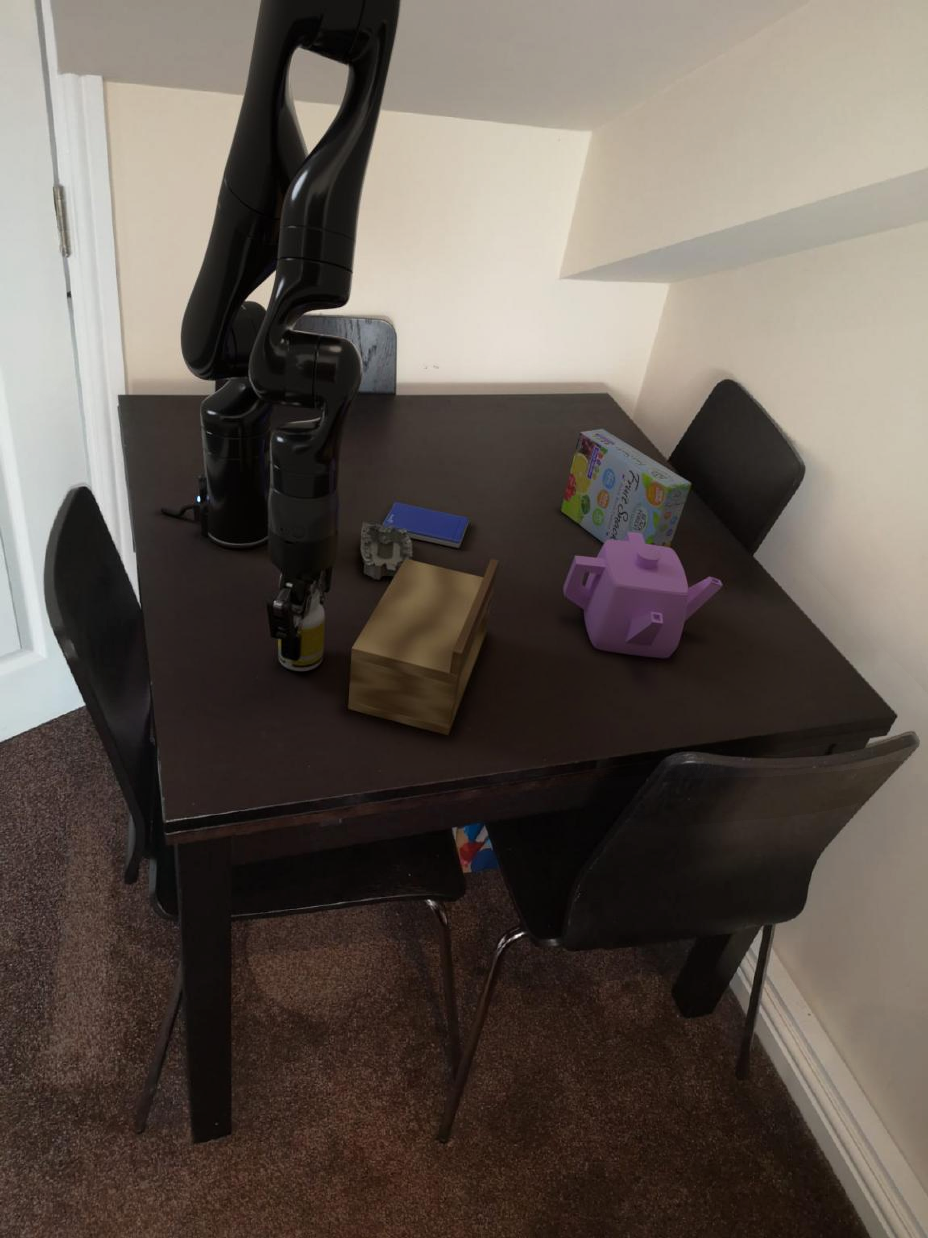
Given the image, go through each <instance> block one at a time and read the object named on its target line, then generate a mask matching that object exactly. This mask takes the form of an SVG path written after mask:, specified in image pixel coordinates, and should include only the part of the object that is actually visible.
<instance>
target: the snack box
mask: <svg viewBox="0 0 928 1238" xmlns="http://www.w3.org/2000/svg"><path fill="white" fill-rule="evenodd" d="M691 487H692V482H690V481H689V480H687V479H686V478H684V477H682V476H680V475H679V474H677V473H676V472H674V471H672V470H670V469H669V468H667V467H666V466H664V465H662V464H661V463H659V462H657V461H656V460H654V459H653V458H651V457H649V456H648V455H646V454H645V453H643V452H641V451H639V450H638V449H636V448H635V447H633V446H631V445H630V444H628V443H626V442H625V441H623V440H622V439H620V438H618V437H616V436H615V435H614V434H612V433H610V432H609V431H607V430H605V429H604V428H599V429H598V428H597V429H591V430H585V431H580V432H579V434H578V437H577V442H576V446H575V452H574V455H573V460H572V464H571V467H570V473H569V475H568V480H567V484H566V488H565V493H564V495H563V496H564V497H563V501H562V506H561V509H560V511H561V512H562V513H563V514H564V515H566V516H567V517H568V518H569V519H571V520H572V521H574V522H575V523H576V524H577V525H579V526H581V528H583V529H584V530H585V531H587V532H588V533H590V534H591V535H592V536H593V537H594V538H596V539H598V540H599V541H600V542H601V543H603V544H604V543H605V541H606V540H620V541H624V540H625V537H626V534H627V531H628V532H635V533H641V534H642V535H643V538H644V542H645V544H650V545H657V546H663V547H668V548H671V544H672V542H673V539H674V536H675V533H676V530H677V527H678V524H679V521H680V518H681V516H682V513H683V509H684V507H685V503H686V502H687V498H688V496H689V492H690V489H691Z"/></svg>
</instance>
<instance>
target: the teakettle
mask: <svg viewBox="0 0 928 1238" xmlns="http://www.w3.org/2000/svg"><path fill="white" fill-rule="evenodd" d="M585 573H589V574H588V577H587V579H586V583H585V585H583V582H584V578H585ZM722 588H723V583H722V581H721V580H720V579H719V578H715V577H713V576H709V575H708V577H706V578H705V579H703V580H701V581H699V582H697V583H695V584H693V585H691V586H690V587H689V584H688V580H687V575H686V573H685V569H684V567H683V564H682V562H681V560H680V558H679V556H678V555H677V553H676V551H675V550H674V549H673V548H671V547H670V548H668V547H663V546H657V545H650V544H645V542H644V538H643V535H642V534H641V533H635V532H628V531H627V534H626V537H625V540H624V541H620V540H606V541H605V543H603V545H602V546H601V548H600V550H599V551H598V554H597V556H596V557H593V556H583V555H574V557H573V560H572V563H571V566H570V568H569V570H568V573H567V576H566V578H565V582H564V584H563V588H562V589H563V596H564V597H566V598H567V599H568V600H569V601H571V602H572V603H574V604H575V605H577V606H578V607H579V608H581V609H582V610H583V617H584V625H585V628H586V631H587V634H588V638H589V640H590V643H591V645H592V646H593V647H594V649H596V650H600V651H604V652H609V653H614V654H615V653H617V654H623V655H630V656H638V657H647V658H657V659H668V658H670V657H671V656H672V655H673V653H674V652H675V651H676V650H677V648H678V646H679V644H680V641H681V637H682V635H683V634H682V633H683V630H684V626H685V622H686V621H687V620H688V619H689V618H690V617H691V616H692V615H694V614H695V612H697V611H698V610H699V609H700V608H701V607H702V606H703V605H704V604H706V602H707V601H709V600H710V599H711V598H712V597H713V596H714V595H715V594H716V593H717V592H718V591H719V590H720V589H722Z"/></svg>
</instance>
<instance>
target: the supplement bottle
mask: <svg viewBox="0 0 928 1238" xmlns="http://www.w3.org/2000/svg"><path fill="white" fill-rule="evenodd" d="M319 596H320V593H319V590H318V589H317V588H316V590H315V593H314V594H313V595H312V600H311V605H310V611H309V615H308V617H306V618H304V620H303V626H302V633H301V657H300V658H299V660H298V661H293V660H290V659H286V658H283V657H282V656H281V640H280V639H277V654H278V655H277V656H278V660H279V663H280V664H281V665H282V666H283V667H284V668H285V669H288V670H289V671H290V670H291V671H294V672H308V671H311V670H314V669H316V668H317V667H318V666H320V665H321V663H322V662H323V658H324V652H325V651H324V650H325V626H326V625H325V624H326V623H325V622H326V614H325V613H326V611H325V610H324V607H323V605H322V606H321V604H319V602H320V599H319ZM292 606H293V607H294V608H296V609H300V610H302V606H303V605H302V606H298V605H294V604H292ZM295 623H296V618H294V626H295Z"/></svg>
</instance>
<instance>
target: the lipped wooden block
mask: <svg viewBox="0 0 928 1238" xmlns="http://www.w3.org/2000/svg"><path fill="white" fill-rule="evenodd" d="M499 563H500V560H498V559H495V558H490V561H489V564H488V565H487V568H486V571H485V573H484V576H478V575H475V574H470V573H467V572H462V571H458V570H454V569H450V568H445V567H442V566H437V565H433V564H429V563H425V562H421V561H416V560H413V559H412V560H409V559H405V560H404V562H403V563H402V565H401V567H400V568H399V570H398V572H397V573H396V575H395V577H393V578H392V580H391V582H390V583H389V585H388V587H387V588H386V590H385V592H384V594H383V595H382V596H381V599H380V600H379V602H378V604H377V605H376V607H375V609H374V610H373V612H372V613H371V615H370V617H369V618H368V620H367V621H366V623H365V625H364V627H363V629H362V630H361V632H360V634H359V635H358V637H357V639H356V640H355V641H354V644H353V646H352V647H351V655H350V670H349V671H350V673H349V687H348V689H349V692H348V705H347V709H348V710H350V711H354V712H359V713H362V714H366V715H369V716H373V717H377V718H381V719H385V720H388V721H391V722H396V723H398V724H399V723H400V724H402V725H403V724H404V725H406V726H411V727H415V728H419V729H422V730H426V731H430V732H433V733H437V734H440V735H445V736H449V734H450V732H451V729H452V728H453V727H452V726H453V724H454V721H455V718H456V716H457V713H458V711H459V707H460V706H461V702H462V699H463V697H464V695H465V691H466V689H467V686H468V683H469V681H470V678H471V675H472V672H473V670H474V667H475V665H476V662H477V659H478V656H479V654H480V651H481V648H482V646H483V643H484V640H485V637H486V634H487V629H488V628H487V627H488V622H489V616H490V613H491V612H490V610H491V607H492V601H493V595H494V589H495V584H496V578H497V574H498V569H499Z"/></svg>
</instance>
